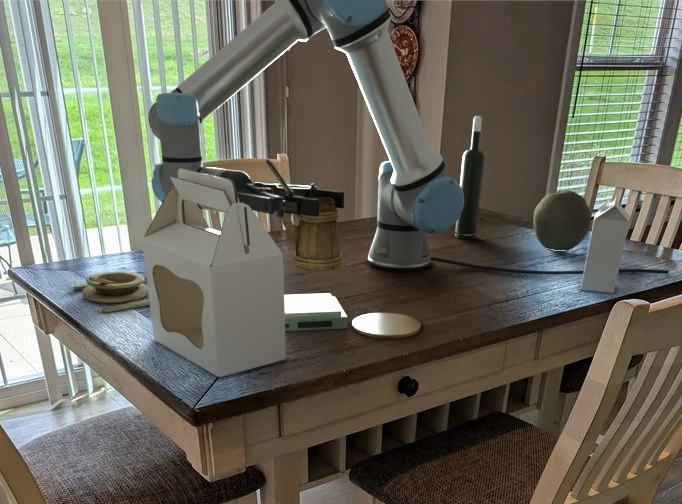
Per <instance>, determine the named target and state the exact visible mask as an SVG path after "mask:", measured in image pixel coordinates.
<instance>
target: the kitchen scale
mask: <svg viewBox="0 0 682 504" xmlns="http://www.w3.org/2000/svg"><path fill="white" fill-rule="evenodd" d="M284 306H285V332H298V331H299V332H300V331H319V330H341V329H348V324H349V323H348V315H347V313H346V312H345V310H344V309H343V307H342V305H341V304H340V302H339V301H338V299H337V298H336V296H333V295H332V294H331V293H330V292H324V293H321V292H320V293H319V292H318V293H297V294H295V293H293V294H284Z"/></svg>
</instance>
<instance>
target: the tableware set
mask: <svg viewBox="0 0 682 504" xmlns="http://www.w3.org/2000/svg"><path fill="white" fill-rule="evenodd" d="M85 281H86V283H82V284H75V285H73V290H74V291H81V290H82V291H81V292H82V296H83V297H84V298H85V299H86V300H89V301H91V302H95V303H102V304H103V303H104V304H117V303H124V304H117V305H109V306H103V307H101V309H100V310H101V312H102V313H110V312H117V311H118V312H119V311H124V310H131V309H134V308H141V307H142V308H143V307H147V306H150V302H149V298H148V299H142V298H144V297H146V296H148V295H149V293H148V285H147V284H144V282H145V277H144V275H142V274H139V273H136V272H131V271H103V272H98V273H96V274H94V273H93V274H92V275H89V276H87V278H85ZM139 299H142V300H139ZM126 302H127V303H126Z"/></svg>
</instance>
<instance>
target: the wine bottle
mask: <svg viewBox="0 0 682 504" xmlns="http://www.w3.org/2000/svg"><path fill="white" fill-rule="evenodd" d="M482 122H483V118H482V116H481V115H474V117H473V120H472V133H471V144H470V149H466V150H465V151H464V152H463V155H462V160H461V172H460V181H459V185H460V186H461V188H462V190H463V194H464V206H463V210H462V211H461V214H460V217H459V219H458V220H457V222H456V223H455V231H454V237H455V238H456V239H459V240H475V239H476V238H477V229H478V220H479V211H480V204H481V203H480V202H481V194H482V185H483V176H484V167H485V160H486V155H485V153H484V151H483V150H482V149H479V148H480V147H479V146H480V140H481V139H480V138H481V131H482V124H483V123H482ZM455 232H456V233H460V234H474V233H476V235H472V236H464V235H458V234H456V233H455Z"/></svg>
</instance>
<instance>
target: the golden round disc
mask: <svg viewBox="0 0 682 504" xmlns="http://www.w3.org/2000/svg"><path fill="white" fill-rule="evenodd" d="M351 328H352V329H353V330H354V331H355V332H357V333H359V334H361V335H364V336H367V337H371V338H378V339H379V338H380V339H400V338H408V337H411V336H414V335H416V334H418V333H419V332H420V331H421V328H422V324H421V322H420V321H419V320H418V319H416V318H415V317H412V316H409V315H405V314H401V313H393V312H371V313H366V314H361V315H359V316H356V317H355V318H354V319H352V321H351Z"/></svg>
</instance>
